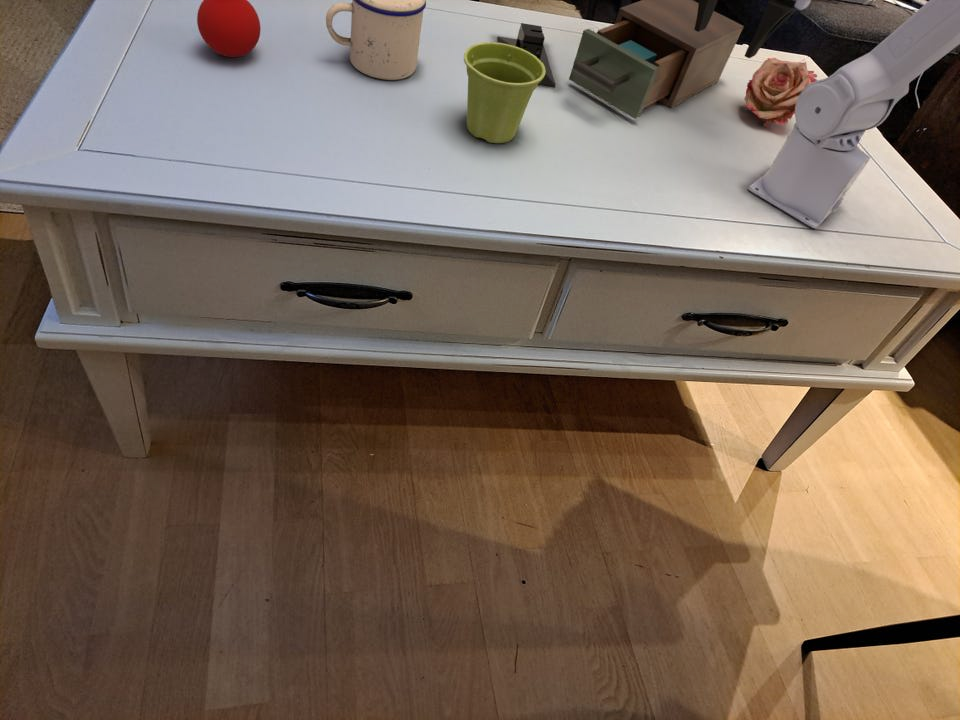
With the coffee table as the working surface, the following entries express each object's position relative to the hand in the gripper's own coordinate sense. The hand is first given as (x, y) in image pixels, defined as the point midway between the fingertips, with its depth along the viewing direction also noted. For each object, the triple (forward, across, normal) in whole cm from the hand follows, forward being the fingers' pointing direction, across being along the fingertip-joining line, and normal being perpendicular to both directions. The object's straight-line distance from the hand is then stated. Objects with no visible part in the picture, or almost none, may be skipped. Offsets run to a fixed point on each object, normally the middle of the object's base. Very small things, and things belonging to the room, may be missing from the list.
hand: (724, 42), depth 89 cm
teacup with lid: (+11, -32, -31) cm, 46 cm away
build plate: (+11, -22, -11) cm, 27 cm away
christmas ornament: (+11, -42, -45) cm, 62 cm away
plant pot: (+11, -13, -29) cm, 34 cm away
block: (+8, -9, -5) cm, 13 cm away
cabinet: (+10, -9, +6) cm, 15 cm away
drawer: (+10, -9, -6) cm, 14 cm away
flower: (+11, +7, +10) cm, 16 cm away
